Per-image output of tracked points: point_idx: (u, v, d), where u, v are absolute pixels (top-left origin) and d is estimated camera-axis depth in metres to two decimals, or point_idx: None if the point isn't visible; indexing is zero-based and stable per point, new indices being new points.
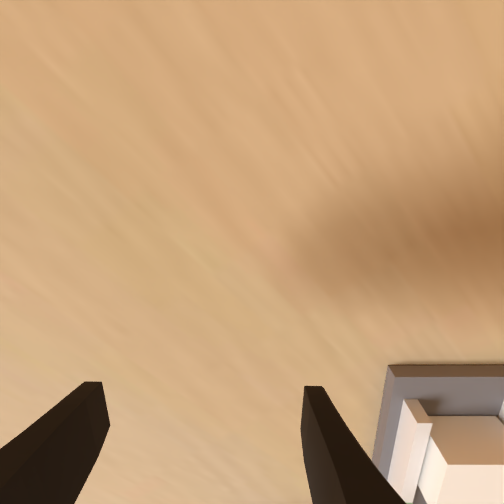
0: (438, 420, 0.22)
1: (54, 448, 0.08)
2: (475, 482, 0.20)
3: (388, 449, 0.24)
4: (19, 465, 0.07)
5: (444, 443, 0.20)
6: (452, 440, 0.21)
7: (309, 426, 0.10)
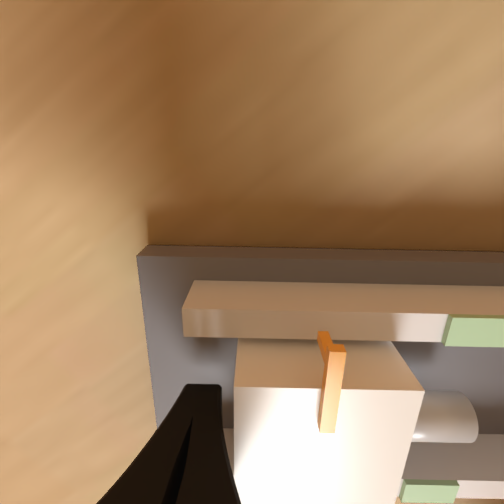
0: None
1: (185, 451, 0.08)
2: (288, 480, 0.09)
3: None
4: (170, 468, 0.07)
5: None
6: None
7: None
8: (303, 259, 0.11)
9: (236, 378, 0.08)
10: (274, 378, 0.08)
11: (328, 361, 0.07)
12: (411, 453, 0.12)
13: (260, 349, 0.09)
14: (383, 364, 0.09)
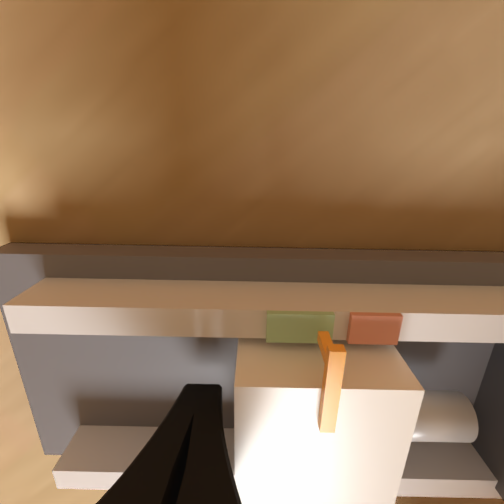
0: None
1: (185, 451, 0.08)
2: (288, 480, 0.09)
3: None
4: (169, 468, 0.07)
5: None
6: None
7: None
8: (150, 256, 0.11)
9: (236, 378, 0.08)
10: (274, 378, 0.08)
11: (328, 361, 0.07)
12: None
13: (260, 349, 0.09)
14: (383, 364, 0.09)
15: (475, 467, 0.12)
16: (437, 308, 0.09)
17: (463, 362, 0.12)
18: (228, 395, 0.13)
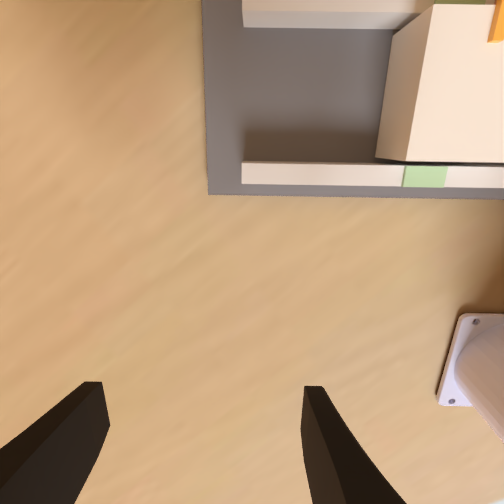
0: (381, 132, 0.16)
1: (54, 448, 0.08)
2: (455, 109, 0.12)
3: (332, 187, 0.17)
4: (19, 465, 0.07)
5: (394, 145, 0.14)
6: (394, 130, 0.14)
7: (309, 426, 0.10)
8: None
9: (431, 7, 0.12)
10: None
11: None
12: (410, 164, 0.16)
13: None
14: None
15: None
16: None
17: None
18: (367, 126, 0.16)
